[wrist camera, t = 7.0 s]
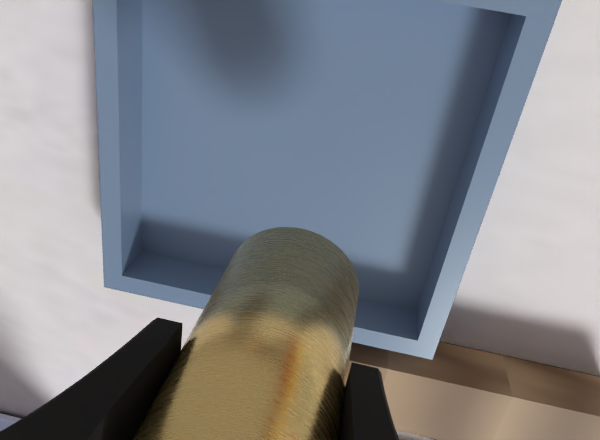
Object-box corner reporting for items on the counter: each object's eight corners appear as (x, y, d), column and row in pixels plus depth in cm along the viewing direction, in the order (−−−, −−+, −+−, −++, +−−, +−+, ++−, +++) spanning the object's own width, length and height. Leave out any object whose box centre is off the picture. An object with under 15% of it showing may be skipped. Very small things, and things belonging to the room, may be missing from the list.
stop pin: (229, 325, 17) (110, 584, 11) (228, 218, 16) (83, 446, 9) (351, 346, 17) (311, 631, 10) (366, 237, 15) (329, 496, 8)
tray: (129, 256, 25) (103, 287, 23) (126, -88, 18) (89, -91, 16) (428, 321, 24) (432, 359, 22) (543, -16, 17) (565, -9, 15)
